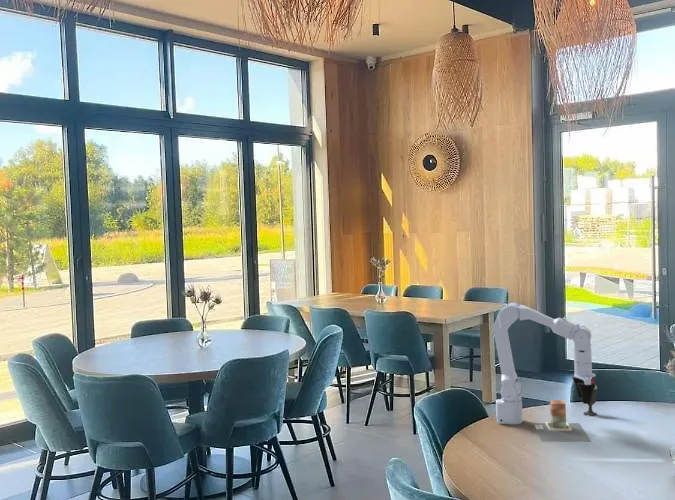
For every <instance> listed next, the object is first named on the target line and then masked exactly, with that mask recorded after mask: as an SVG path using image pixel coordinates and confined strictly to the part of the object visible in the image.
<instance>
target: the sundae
mask: <svg viewBox="0 0 675 500" xmlns="http://www.w3.org/2000/svg"><path fill="white" fill-rule="evenodd" d="M594 378H595V377H592V379H591V384H595V388H594V390H593V392H592V396H591V401H590V404H587V405H588V410H587V411H585V412H583V415H585V416H587V415H589V417H596V416H598V412H594V410H593V405H594V404H595V403H596V401H597V394H598V391H599V389H600V387H599V386H597V384H596V383H595V381H594ZM595 415H596V416H595Z"/></svg>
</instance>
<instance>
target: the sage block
mask: <svg viewBox="0 0 675 500" xmlns="http://www.w3.org/2000/svg"><path fill="white" fill-rule="evenodd" d="M549 414H550V422H551V427H552V428H554V429H566V422H567V416H566V417H552V415H551V413H549Z"/></svg>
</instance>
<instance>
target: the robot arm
mask: <svg viewBox="0 0 675 500" xmlns="http://www.w3.org/2000/svg"><path fill="white" fill-rule="evenodd" d="M496 316H497V317H496V319H495V321H494V323H493V326H492V330H493V335H494V341H495V346H496V352H497V356H498V358H497V359H498V363H499V367H500V368H499V369H500V373H501V378H500V384H501V387H500V396H501V398H498V399H495V413H496V414H495V420H496V422H497V424H498V425H500V424H501V425H520V424H522V423H523V398H522V396H521V395H520V394H521V393H522V390H523V385H522V383H521V381H520V380H519V378H518V374H517V372H516V369H515V362H514V358H513V352H512V348H511V342H510V336H509V332H508V330H509V329H510V327H511V326H512V324H514V323H515V322H516V321H517V320H518V319H519V321H526V320H530V321H532V322H536V323H538V324H541V325H543V326H545V327H549V328H550V330H552V333H554V334H556V335H559V336H561V337H562V338H565V339H567V340H572V341H573V343H574V348H573V362H574V363H573V365H574V366H573V367H574V374H573V376H572V378H571V379H572V380H573V383H574V385H575V389H576V392H577V396H578V398H579V399H582V403H583V404H585V405H588V404H590V401H591V396H592V392H593V390H594V388H595V384H596V383H595V384H591V379H593V378H592V377H594V378H595V377H596V374H595V373H593V368H592V367H593V365H592V362H593V359H592V348H591V347H592V343H591V341H592V340H591V339H592V331H591V330H590V329H589V328H588V327H586V326H584V325H581V324H578V323H576V324H575V323H574V322H571V321H568V320H567V318H566V317H565V316H563V317H562V318H561V317H557V318H552V317H550V316H548V315H546V314H544V313H542V312H540V311H537V310H536V309H533V308H531V307H529V306H527V305H524V304H519V303H517V302H515V301H514V302H513V301H512V302H510V303H508V304H507V305H505V306H503V308H501V309H500V311H498V313H497V315H496Z"/></svg>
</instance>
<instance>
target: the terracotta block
mask: <svg viewBox="0 0 675 500" xmlns="http://www.w3.org/2000/svg"><path fill="white" fill-rule="evenodd" d="M566 408H567V407H566V402H565V400H561V399H559V400H549V411H550V413H551V415H552V417H566V418H567V413H566V412H567V410H566ZM550 413H549V414H550Z"/></svg>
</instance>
